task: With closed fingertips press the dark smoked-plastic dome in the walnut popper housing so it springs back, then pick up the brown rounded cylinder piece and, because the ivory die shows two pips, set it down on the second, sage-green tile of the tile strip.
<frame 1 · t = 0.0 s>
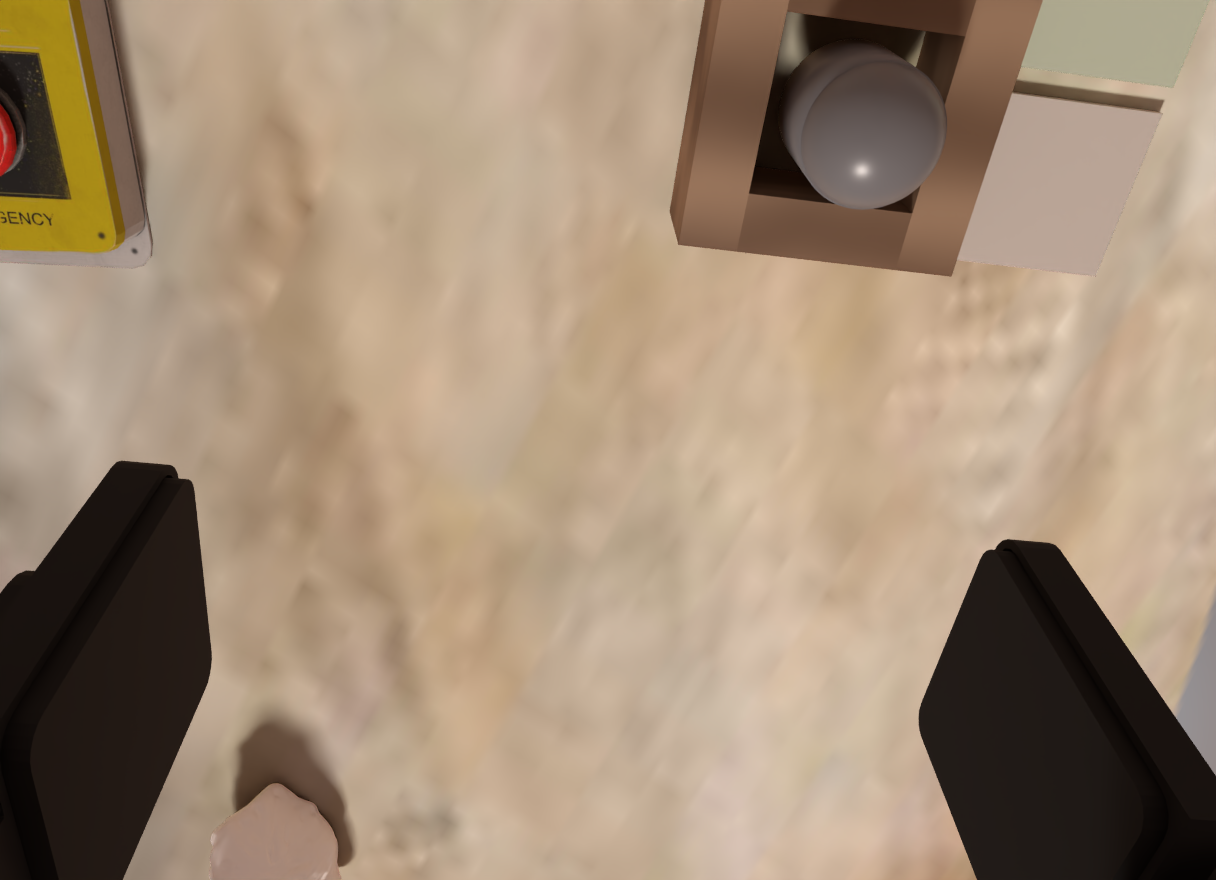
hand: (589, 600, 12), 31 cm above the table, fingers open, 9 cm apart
dome: (865, 130, 34), point 6 cm above the table, slide at 0.2 cm
popper housing: (828, 93, 39), on the table
emergency button: (8, 75, 38), on the table
bust: (284, 826, 61), on the table
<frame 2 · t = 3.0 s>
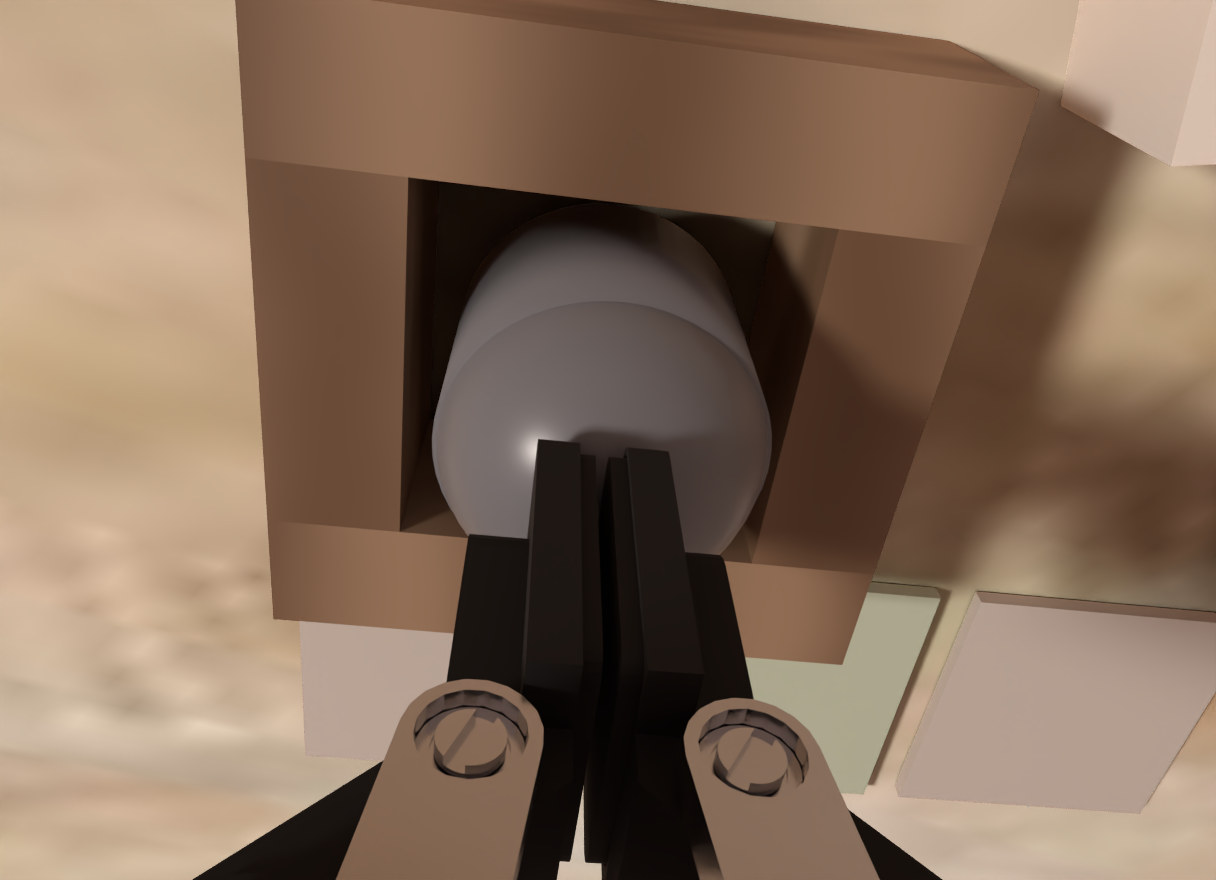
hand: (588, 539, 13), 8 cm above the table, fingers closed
dome: (601, 420, 15), point 5 cm above the table, slide at 1.1 cm, touching gripper
popper housing: (597, 296, 20), on the table
tile strip: (762, 681, 25), on the table
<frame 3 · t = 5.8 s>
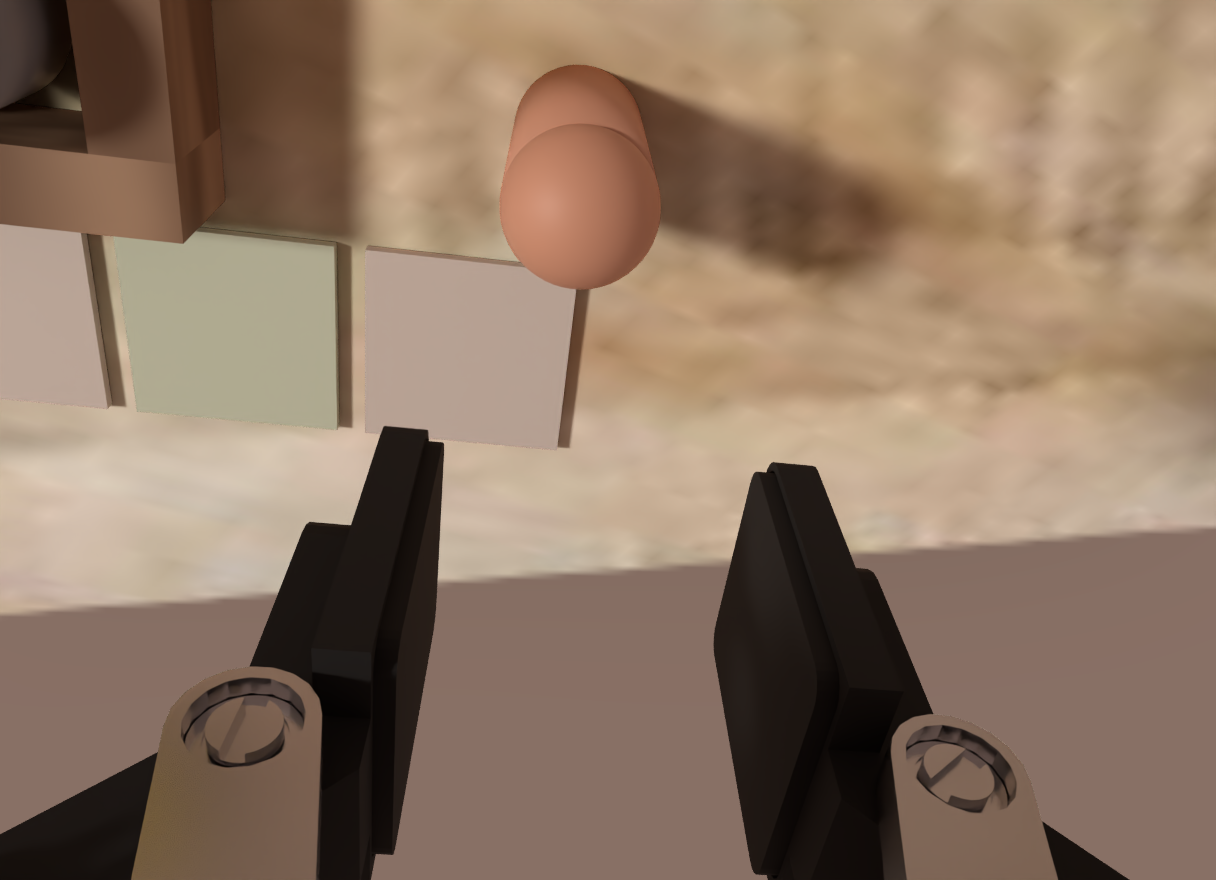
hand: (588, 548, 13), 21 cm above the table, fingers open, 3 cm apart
brown rounded cylinder piece: (578, 131, 31), on the table
tile strip: (234, 327, 34), on the table
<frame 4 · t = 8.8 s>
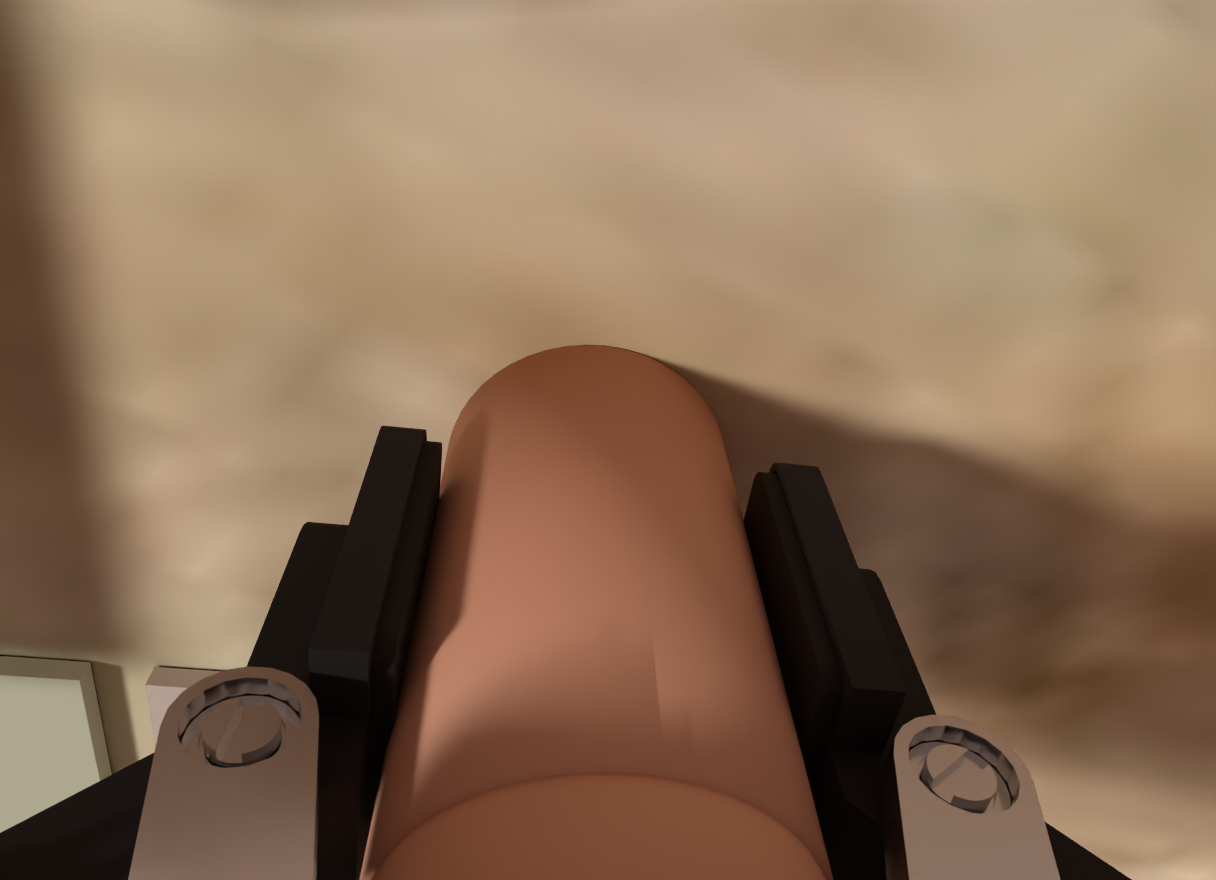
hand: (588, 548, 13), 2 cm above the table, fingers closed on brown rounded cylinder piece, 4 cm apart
brown rounded cylinder piece: (586, 470, 14), on the table, touching gripper
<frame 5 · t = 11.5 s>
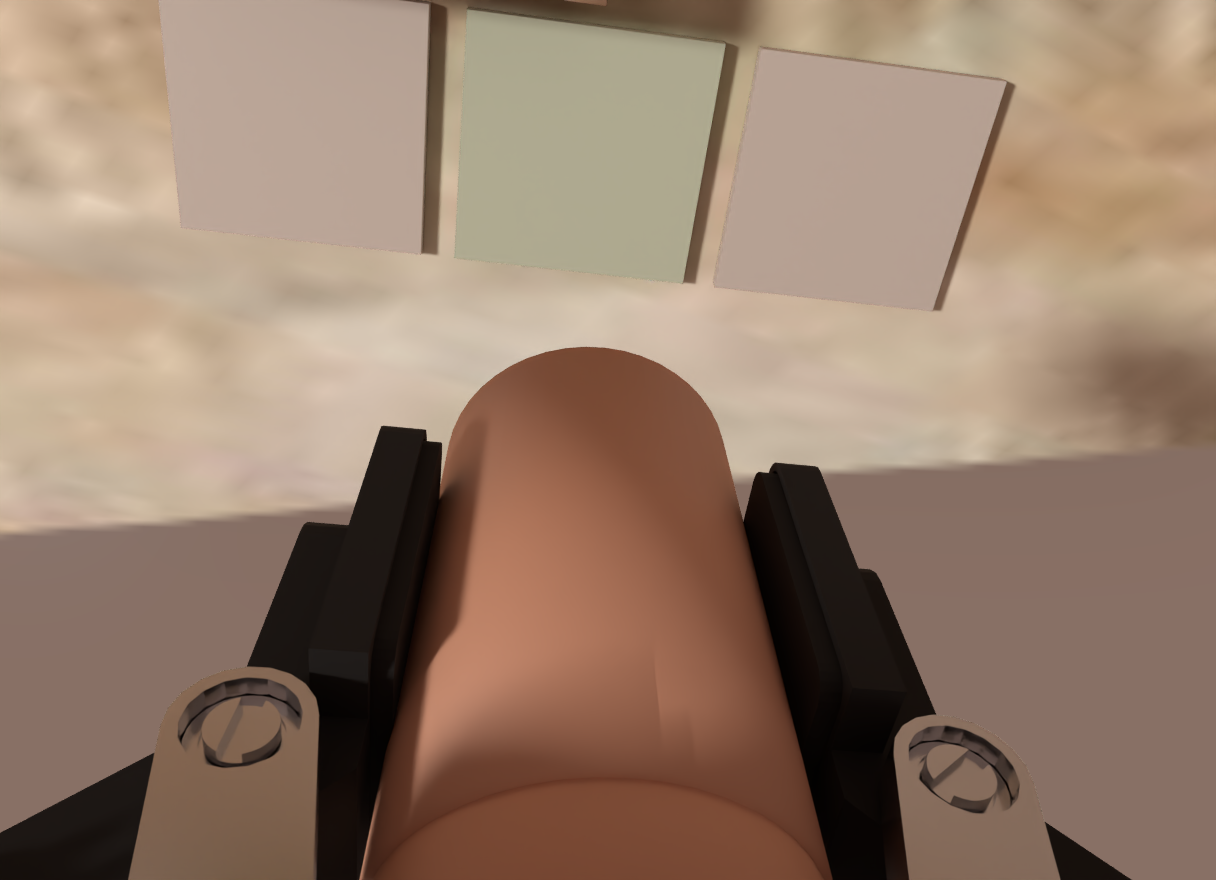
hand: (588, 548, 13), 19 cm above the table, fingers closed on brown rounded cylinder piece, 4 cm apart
brown rounded cylinder piece: (586, 472, 14), point 17 cm above the table, touching gripper
tile strip: (582, 153, 28), on the table
when the fingers open (3 cm above the table, at t = 14.5 s): brown rounded cylinder piece stays where it is, resting on tile strip.
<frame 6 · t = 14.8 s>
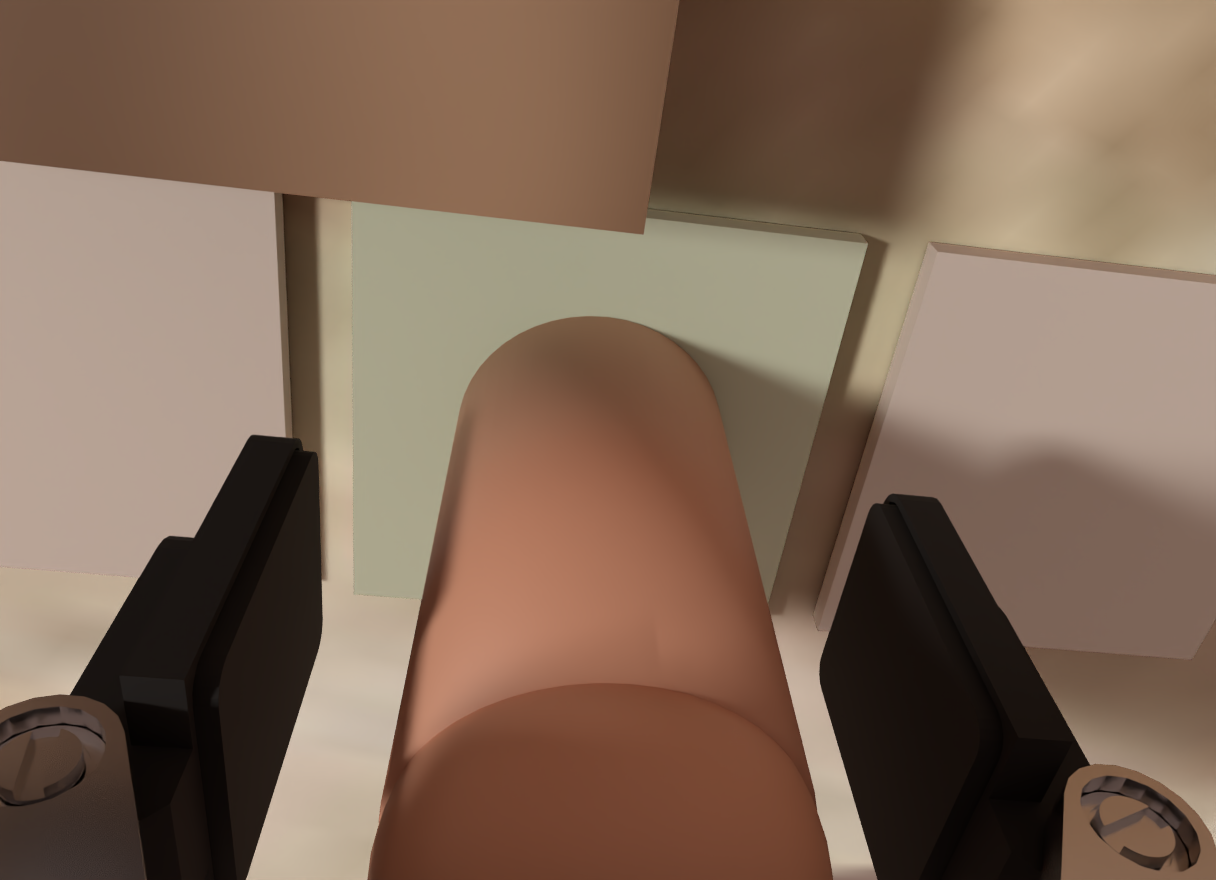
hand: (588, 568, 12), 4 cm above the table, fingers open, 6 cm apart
brown rounded cylinder piece: (589, 436, 15), resting on tile strip
tile strip: (585, 423, 15), on the table
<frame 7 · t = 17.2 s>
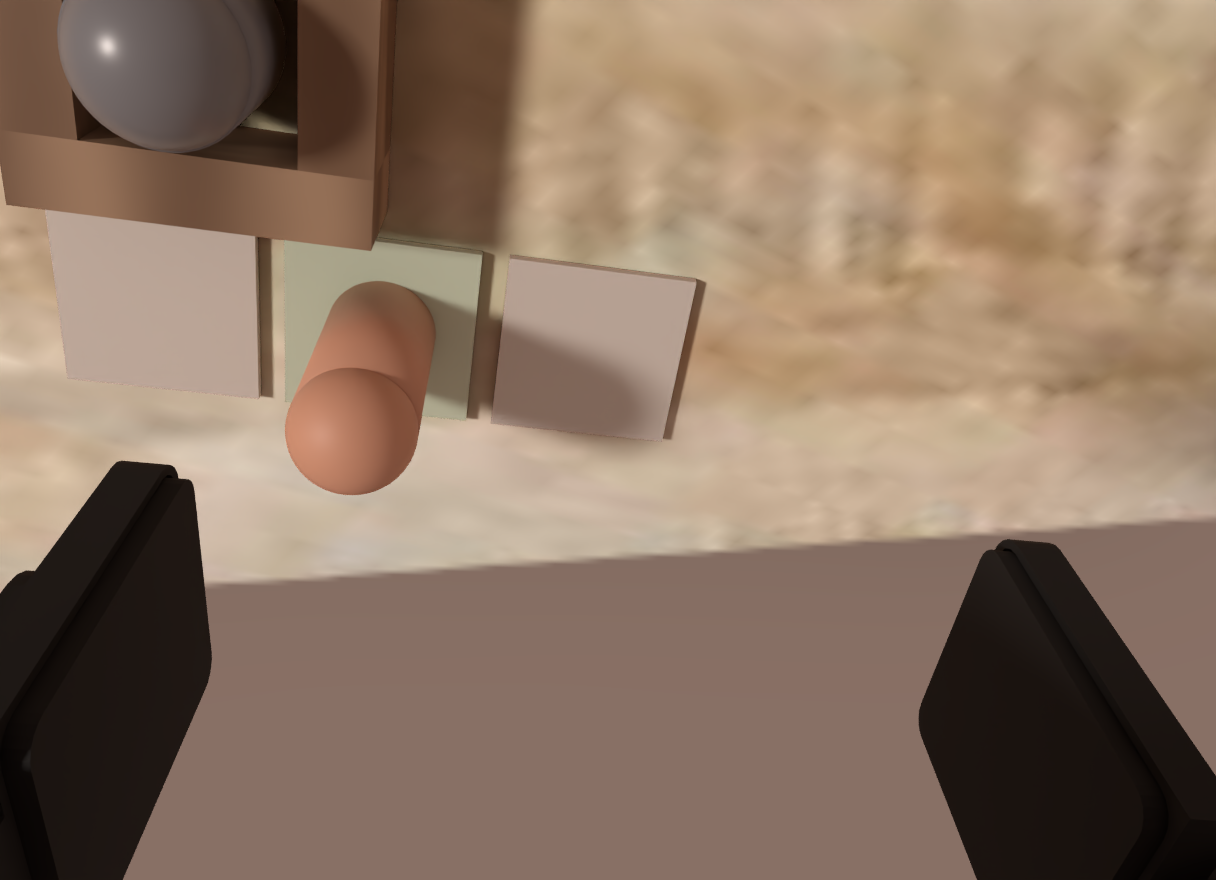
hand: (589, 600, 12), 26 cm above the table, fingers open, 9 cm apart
brown rounded cylinder piece: (381, 331, 37), resting on tile strip
dome: (169, 52, 27), point 5 cm above the table, slide at 0.8 cm
popper housing: (221, 23, 32), on the table
tile strip: (381, 326, 37), on the table
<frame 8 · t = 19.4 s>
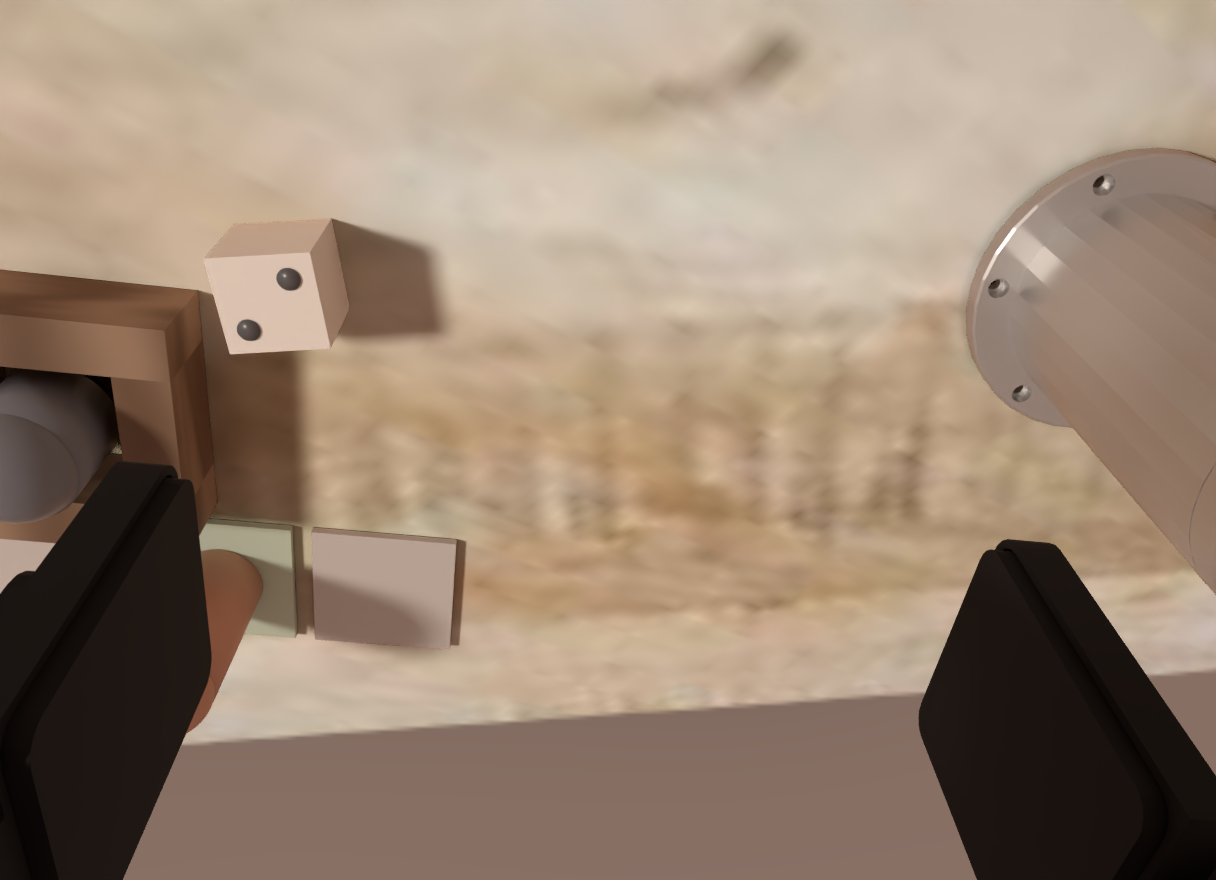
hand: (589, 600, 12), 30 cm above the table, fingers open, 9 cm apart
brown rounded cylinder piece: (222, 581, 49), resting on tile strip
dome: (25, 453, 39), point 5 cm above the table, slide at 0.8 cm
popper housing: (81, 391, 44), on the table
tile strip: (224, 575, 50), on the table
die: (293, 266, 41), on the table
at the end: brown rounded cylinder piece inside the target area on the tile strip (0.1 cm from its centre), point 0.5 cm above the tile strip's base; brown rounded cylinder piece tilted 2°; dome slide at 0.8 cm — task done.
